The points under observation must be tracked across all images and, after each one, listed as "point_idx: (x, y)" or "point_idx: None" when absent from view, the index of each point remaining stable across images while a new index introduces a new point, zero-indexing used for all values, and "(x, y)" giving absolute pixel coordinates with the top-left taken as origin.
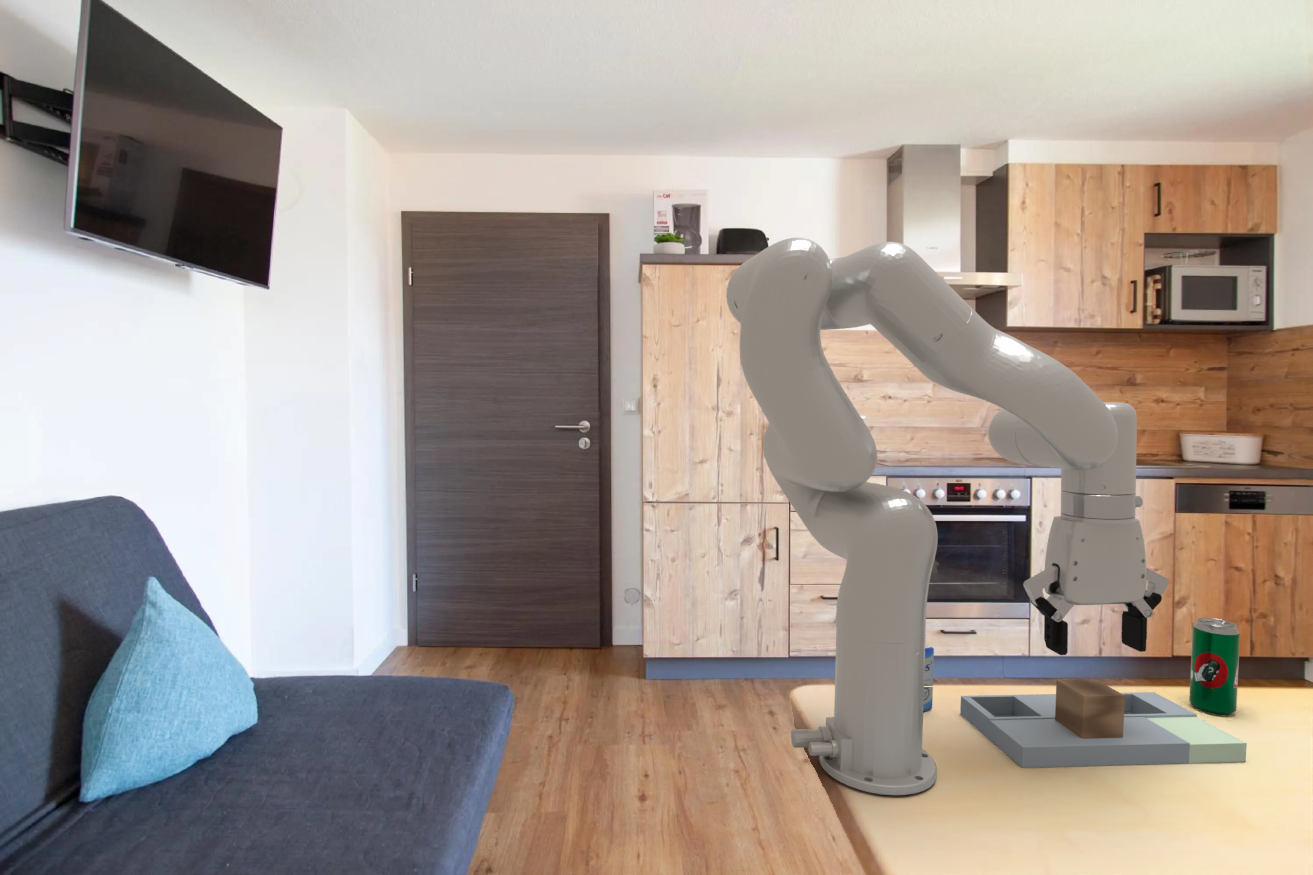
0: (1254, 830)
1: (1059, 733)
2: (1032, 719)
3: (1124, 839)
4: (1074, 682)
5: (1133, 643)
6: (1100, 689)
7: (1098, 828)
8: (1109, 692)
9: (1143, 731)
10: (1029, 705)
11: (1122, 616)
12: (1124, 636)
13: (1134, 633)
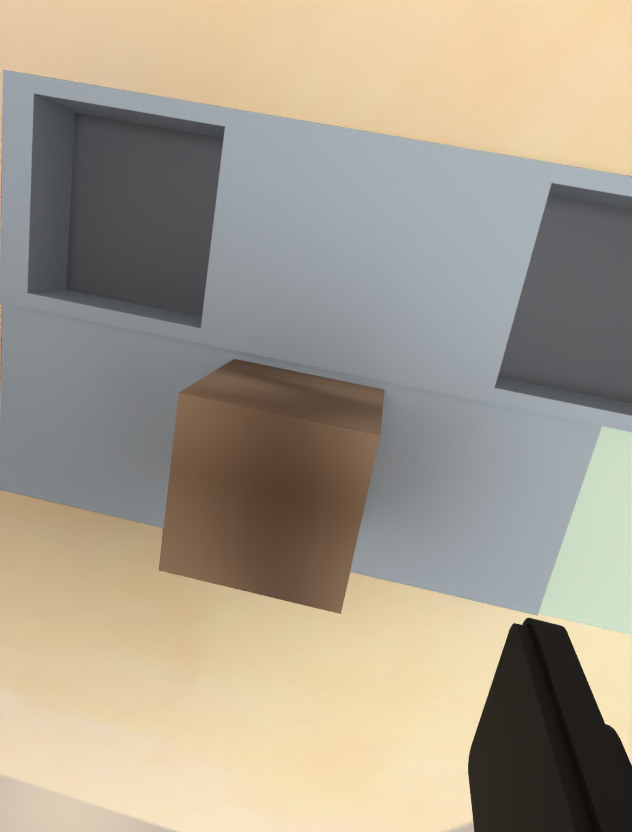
0: (348, 797)
1: (171, 447)
2: (156, 335)
3: (63, 733)
4: (237, 443)
5: (487, 741)
6: (293, 536)
7: (40, 695)
8: (303, 571)
9: (470, 513)
10: (224, 230)
11: (565, 812)
12: (513, 683)
13: (495, 822)
